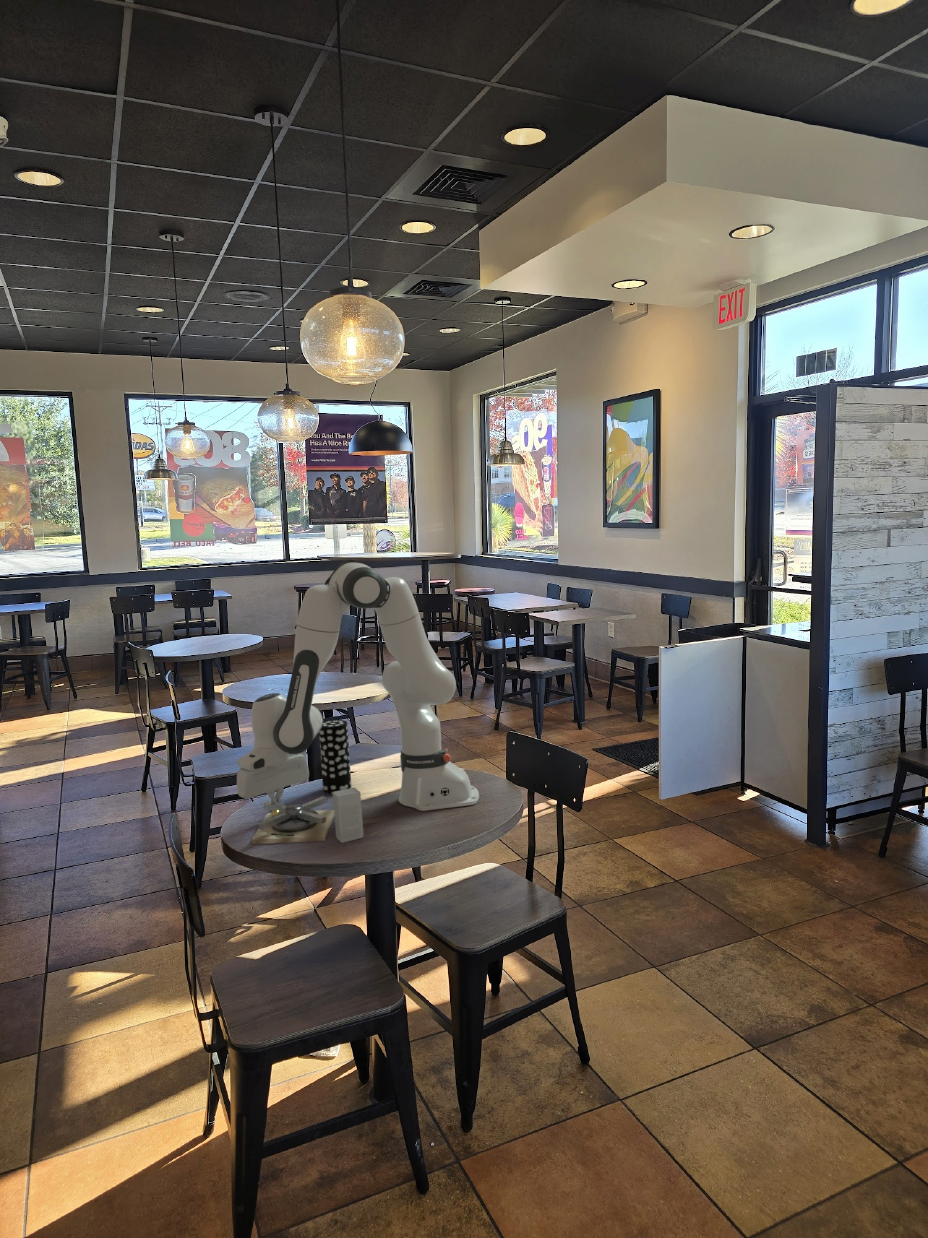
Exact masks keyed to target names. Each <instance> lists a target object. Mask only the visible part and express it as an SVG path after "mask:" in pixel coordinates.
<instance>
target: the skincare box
mask: <svg viewBox="0 0 928 1238" xmlns="http://www.w3.org/2000/svg"><path fill="white" fill-rule="evenodd" d="M361 797H362V796H361V791H360V790H358V789H357V788H356V787H354V786H353V787H351V788H350V789H345V790H340V791H335V792H333V794H332V801H333V810H334V824H335V825H334V826H335V837H336V839H337V840H338V841H339V842H340V843H348V842H351V841H355V840H358V839H363V838H364V837H365V836H364V825H363V824H364V823H363V809H362V799H361Z"/></svg>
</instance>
